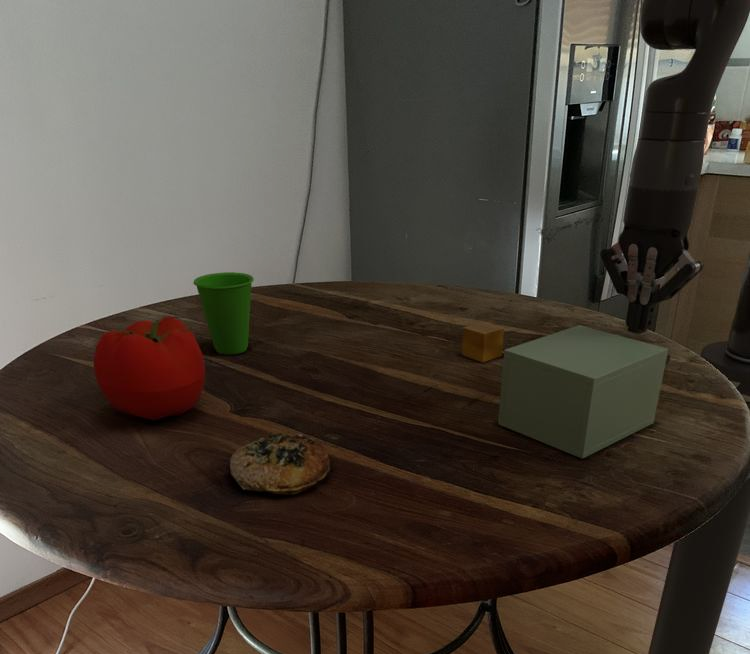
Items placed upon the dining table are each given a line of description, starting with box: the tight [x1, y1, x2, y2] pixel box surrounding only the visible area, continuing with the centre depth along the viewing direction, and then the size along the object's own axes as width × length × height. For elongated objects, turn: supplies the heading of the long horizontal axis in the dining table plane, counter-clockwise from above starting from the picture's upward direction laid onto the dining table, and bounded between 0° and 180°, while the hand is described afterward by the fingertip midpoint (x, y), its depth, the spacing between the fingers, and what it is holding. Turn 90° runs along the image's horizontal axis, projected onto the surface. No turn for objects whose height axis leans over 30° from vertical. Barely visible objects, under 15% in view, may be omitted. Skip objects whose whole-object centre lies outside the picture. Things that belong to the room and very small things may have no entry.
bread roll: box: [229, 433, 331, 496], centre depth 80 cm, size 11×11×5 cm
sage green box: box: [497, 324, 669, 459], centre depth 89 cm, size 15×13×10 cm
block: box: [461, 321, 505, 363], centre depth 112 cm, size 4×4×4 cm
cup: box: [193, 271, 255, 355], centre depth 114 cm, size 9×9×11 cm
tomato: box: [92, 316, 206, 422], centre depth 93 cm, size 13×14×12 cm
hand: (637, 331), depth 92 cm, fingers closed
